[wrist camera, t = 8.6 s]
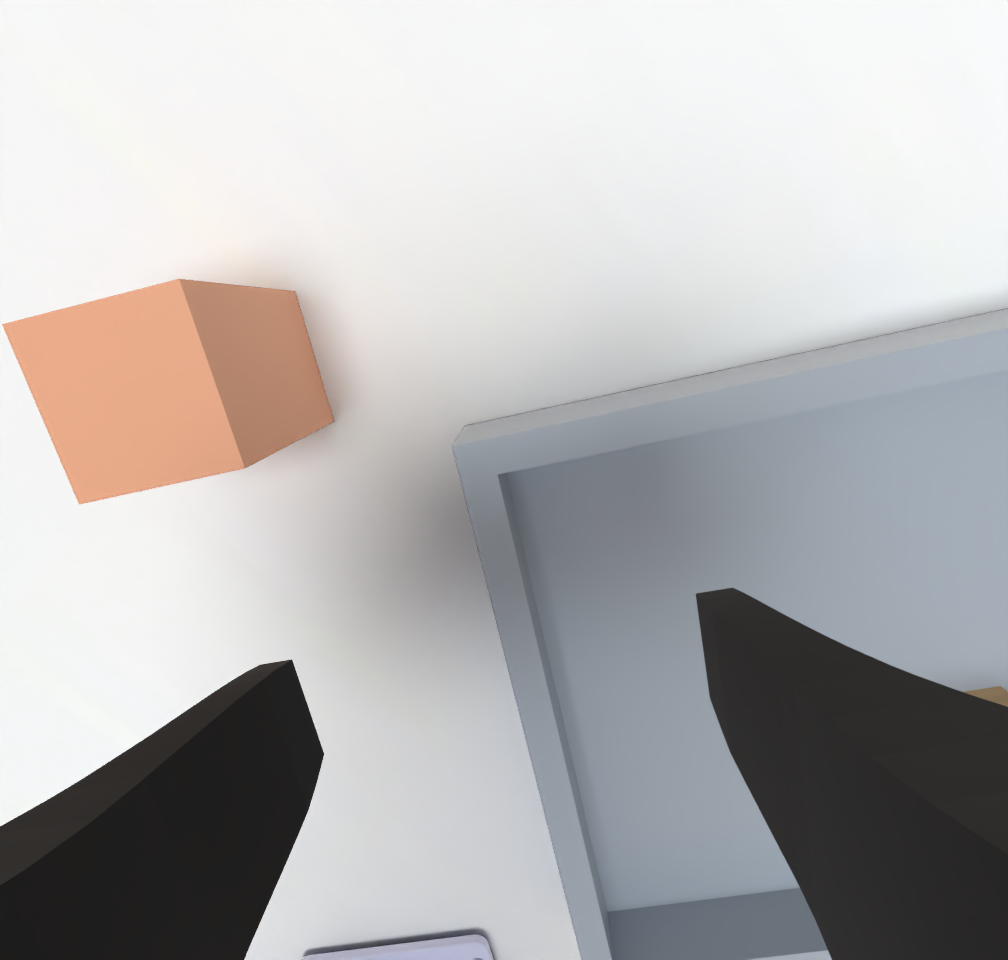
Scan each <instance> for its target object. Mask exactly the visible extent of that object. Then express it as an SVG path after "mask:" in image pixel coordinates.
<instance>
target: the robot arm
mask: <svg viewBox="0 0 1008 960" xmlns="http://www.w3.org/2000/svg"><path fill="white" fill-rule="evenodd" d="M696 600H697V608H698V615H699V622H700V630H701V637H702V644H703V652H704V659H705V666H706V674H707V681H708V688H709V696H710V700H711V703H712V705H713V708H714V711H715V714H716V716H717V719H718V722H719V724H720V727H721V730H722V732H723V735H724V738H725V740H726V743H727V746H728V748H729V751H730V753H731V755H732V757H733V759H734V761H735V763H736V765H737V767H738V769H739V771H740V773H741V775H742V777H743V779H744V781H745V783H746V785H747V787H748V788H749V790H750V792H751V794H752V796H753V798H754V800H755V802H756V804H757V806H758V808H759V810H760V812H761V814H762V816H763V817H764V819H765V821H766V823H767V825H768V827H769V829H770V831H771V833H772V835H773V837H774V839H775V841H776V842H777V844H778V846H779V848H780V850H781V852H782V854H783V856H784V858H785V860H786V862H787V864H788V866H789V867H790V869H791V871H792V873H793V875H794V877H795V879H796V881H797V883H798V885H799V887H800V889H801V891H802V893H803V895H804V897H805V899H806V901H807V904H808V906H809V908H810V910H811V912H812V914H813V916H814V918H815V921H816V923H817V925H818V928H819V930H820V932H821V935H822V937H823V940H824V942H825V944H826V947H827V949H828V952H829V954H830V956H831V959H832V960H1008V707H1007V706H1004V705H1001V704H998V703H995V702H991V701H988V700H985V699H982V698H979V697H976V696H973V695H970V694H967V693H964V692H961V691H958V690H956V689H953V688H950V687H947V686H944V685H942V684H939V683H936V682H933V681H931V680H928V679H925V678H922V677H919V676H917V675H914V674H911V673H909V672H906V671H904V670H901V669H899V668H896V667H894V666H891V665H889V664H887V663H884V662H882V661H880V660H878V659H875V658H873V657H871V656H868V655H866V654H864V653H862V652H859V651H857V650H855V649H853V648H850V647H848V646H846V645H844V644H842V643H840V642H838V641H835V640H833V639H831V638H829V637H827V636H825V635H823V634H821V633H819V632H817V631H815V630H813V629H811V628H809V627H807V626H805V625H803V624H801V623H799V622H798V621H796V620H794V619H792V618H790V617H788V616H786V615H784V614H782V613H781V612H779V611H777V610H775V609H773V608H771V607H769V606H768V605H766V604H764V603H762V602H760V601H758V600H756V599H755V598H753V597H751V596H749V595H747V594H745V593H743V592H741V591H739V590H737V589H735V588H727V589H721V590H714V591H708V592H702V593H696ZM323 756H324V753H323V750H322V747H321V744H320V741H319V738H318V735H317V732H316V729H315V726H314V723H313V720H312V717H311V714H310V711H309V708H308V705H307V702H306V700H305V697H304V694H303V691H302V688H301V685H300V682H299V679H298V676H297V673H296V670H295V667H294V664H293V661H292V660H287V661H281V662H275V663H268V664H262V665H259V666H257V667H255V668H253V669H251V670H249V671H247V672H246V673H244V674H242V675H241V676H239V677H237V678H236V679H234V680H232V681H231V682H229V683H228V684H226V685H224V686H223V687H221V688H220V689H218V690H217V691H215V692H214V693H212V694H211V695H209V696H208V697H206V698H205V699H203V700H202V701H200V702H199V703H197V704H196V705H194V706H193V707H191V708H190V709H189V710H187V711H186V712H184V713H183V714H181V715H180V716H178V717H177V718H175V719H174V720H172V721H171V722H169V723H168V724H166V725H165V726H163V727H162V728H161V729H159V730H158V731H156V732H155V733H153V734H152V735H150V736H149V737H147V738H146V739H144V740H142V741H141V742H139V743H138V744H136V745H135V746H133V747H132V748H130V749H129V750H127V751H125V752H124V753H122V754H121V755H119V756H118V757H116V758H115V759H113V760H111V761H110V762H108V763H107V764H105V765H104V766H102V767H101V768H99V769H97V770H96V771H94V772H93V773H91V774H90V775H88V776H87V777H85V778H83V779H82V780H80V781H79V782H77V783H75V784H74V785H72V786H70V787H69V788H67V789H65V790H64V791H62V792H60V793H59V794H57V795H55V796H54V797H52V798H50V799H48V800H47V801H45V802H43V803H41V804H40V805H38V806H36V807H34V808H33V809H31V810H29V811H27V812H25V813H24V814H22V815H20V816H18V817H17V818H15V819H13V820H11V821H9V822H8V823H6V824H4V825H2V826H0V960H244V959H245V956H246V953H247V951H248V948H249V946H250V944H251V942H252V939H253V937H254V935H255V933H256V930H257V928H258V926H259V923H260V921H261V919H262V917H263V914H264V912H265V910H266V907H267V905H268V903H269V901H270V898H271V896H272V894H273V891H274V889H275V887H276V885H277V882H278V880H279V878H280V875H281V873H282V871H283V869H284V866H285V864H286V862H287V859H288V857H289V855H290V853H291V850H292V848H293V845H294V843H295V841H296V838H297V836H298V834H299V831H300V829H301V827H302V824H303V822H304V819H305V817H306V815H307V812H308V810H309V806H310V803H311V800H312V796H313V793H314V790H315V787H316V783H317V779H318V775H319V772H320V768H321V764H322V760H323ZM301 960H493V956H492V953H491V950H490V946H489V943H488V941H487V940H486V939H485V938H484V937H483V936H481V935H466V936H458V937H450V938H442V939H434V940H426V941H418V942H410V943H402V944H394V945H386V946H378V947H370V948H362V949H354V950H346V951H338V952H330V953H322V954H314V955H308V956H305V957H303V958H302V959H301Z"/></svg>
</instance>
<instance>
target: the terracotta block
mask: <svg viewBox="0 0 1008 960" xmlns="http://www.w3.org/2000/svg"><path fill="white" fill-rule="evenodd" d="M2 325H3V328H4V330H5V332H6V335H7V337H8V339H9V342H10V344H11V346H12V349H13V351H14V353H15V356H16V358H17V360H18V363H19V365H20V367H21V370H22V372H23V374H24V377H25V379H26V381H27V384H28V386H29V388H30V391H31V393H32V395H33V398H34V400H35V402H36V405H37V407H38V409H39V412H40V414H41V416H42V419H43V421H44V423H45V426H46V428H47V430H48V433H49V435H50V437H51V440H52V442H53V444H54V447H55V449H56V451H57V454H58V456H59V458H60V461H61V463H62V465H63V468H64V470H65V472H66V475H67V477H68V479H69V482H70V484H71V486H72V489H73V491H74V493H75V496H76V498H77V500H78V503H79V504H83V503H88V502H93V501H97V500H102V499H106V498H111V497H116V496H120V495H125V494H129V493H134V492H138V491H143V490H148V489H152V488H157V487H161V486H166V485H170V484H175V483H180V482H184V481H189V480H193V479H198V478H203V477H207V476H212V475H216V474H221V473H225V472H230V471H235V470H239V469H244V468H246V467H248V466H250V465H252V464H254V463H256V462H258V461H260V460H262V459H264V458H265V457H267V456H269V455H271V454H273V453H275V452H277V451H279V450H281V449H283V448H285V447H287V446H288V445H290V444H292V443H294V442H296V441H298V440H300V439H302V438H304V437H306V436H308V435H309V434H311V433H313V432H315V431H317V430H319V429H321V428H323V427H325V426H327V425H329V424H330V423H332V422H334V419H333V415H332V412H331V409H330V405H329V402H328V399H327V395H326V392H325V389H324V386H323V382H322V379H321V376H320V372H319V369H318V366H317V362H316V359H315V356H314V352H313V349H312V346H311V342H310V339H309V336H308V333H307V329H306V326H305V323H304V319H303V316H302V313H301V309H300V306H299V303H298V299H297V296H296V293H295V291H286V290H277V289H268V288H258V287H249V286H240V285H231V284H222V283H212V282H203V281H194V280H185V279H177V280H173V281H169V282H165V283H161V284H157V285H154V286H150V287H146V288H142V289H138V290H134V291H130V292H126V293H122V294H119V295H115V296H111V297H107V298H103V299H99V300H95V301H91V302H87V303H84V304H80V305H76V306H72V307H68V308H64V309H60V310H56V311H52V312H49V313H45V314H41V315H37V316H33V317H29V318H25V319H21V320H18V321H14V322H10V323H6V324H2Z"/></svg>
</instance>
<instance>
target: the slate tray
mask: <svg viewBox="0 0 1008 960" xmlns="http://www.w3.org/2000/svg"><path fill="white" fill-rule="evenodd" d="M452 449H453V453H454V456H455V460H456V464H457V468H458V472H459V476H460V480H461V484H462V488H463V492H464V496H465V500H466V504H467V508H468V512H469V516H470V520H471V524H472V528H473V532H474V536H475V540H476V544H477V548H478V552H479V555H480V559H481V563H482V567H483V571H484V575H485V579H486V583H487V587H488V591H489V595H490V599H491V603H492V607H493V611H494V615H495V619H496V623H497V627H498V631H499V635H500V639H501V643H502V647H503V651H504V654H505V658H506V662H507V666H508V670H509V674H510V678H511V682H512V686H513V690H514V694H515V698H516V702H517V706H518V710H519V714H520V718H521V722H522V726H523V730H524V734H525V738H526V742H527V746H528V750H529V753H530V757H531V761H532V765H533V769H534V773H535V777H536V781H537V785H538V789H539V793H540V797H541V801H542V805H543V809H544V813H545V817H546V821H547V825H548V829H549V833H550V837H551V841H552V845H553V849H554V852H555V856H556V860H557V864H558V868H559V872H560V876H561V880H562V884H563V888H564V892H565V896H566V900H567V904H568V908H569V912H570V916H571V920H572V924H573V928H574V932H575V936H576V940H577V944H578V947H579V951H580V955H581V959H582V960H832V959H831V956H830V954H829V952H828V949H827V947H826V944H825V942H824V940H823V937H822V935H821V932H820V930H819V928H818V925H817V923H816V921H815V918H814V916H813V914H812V912H811V910H810V908H809V906H808V904H807V901H806V899H805V897H804V895H803V893H802V891H801V889H800V887H799V885H798V883H797V881H796V879H795V877H794V875H793V873H792V871H791V869H790V867H789V866H788V864H787V862H786V860H785V858H784V856H783V854H782V852H781V850H780V848H779V846H778V844H777V842H776V841H775V839H774V837H773V835H772V833H771V831H770V829H769V827H768V825H767V823H766V821H765V819H764V817H763V816H762V814H761V812H760V810H759V808H758V806H757V804H756V802H755V800H754V798H753V796H752V794H751V792H750V790H749V788H748V787H747V785H746V783H745V781H744V779H743V777H742V775H741V773H740V771H739V769H738V767H737V765H736V763H735V761H734V759H733V757H732V755H731V753H730V751H729V748H728V746H727V743H726V740H725V738H724V735H723V732H722V730H721V727H720V724H719V722H718V719H717V716H716V714H715V711H714V708H713V705H712V703H711V700H710V696H709V688H708V681H707V674H706V666H705V659H704V652H703V644H702V637H701V630H700V622H699V615H698V608H697V600H696V593H702V592H708V591H714V590H721V589H727V588H735V589H737V590H739V591H741V592H743V593H745V594H747V595H749V596H751V597H753V598H755V599H756V600H758V601H760V602H762V603H764V604H766V605H768V606H769V607H771V608H773V609H775V610H777V611H779V612H781V613H782V614H784V615H786V616H788V617H790V618H792V619H794V620H796V621H798V622H799V623H801V624H803V625H805V626H807V627H809V628H811V629H813V630H815V631H817V632H819V633H821V634H823V635H825V636H827V637H829V638H831V639H833V640H835V641H838V642H840V643H842V644H844V645H846V646H848V647H850V648H853V649H855V650H857V651H859V652H862V653H864V654H866V655H868V656H871V657H873V658H875V659H878V660H880V661H882V662H884V663H887V664H889V665H891V666H894V667H896V668H899V669H901V670H904V671H906V672H909V673H911V674H914V675H917V676H919V677H922V678H925V679H928V680H931V681H933V682H936V683H939V684H942V685H944V686H947V687H950V688H953V689H956V690H958V691H961V692H965V691H972V690H978V689H984V688H990V687H997V686H1001V687H1002V688H1004V689H1005V690H1006V691H1007V692H1008V308H1007V309H1003V310H998V311H994V312H989V313H984V314H980V315H975V316H970V317H966V318H961V319H957V320H952V321H947V322H943V323H938V324H933V325H929V326H924V327H920V328H915V329H910V330H906V331H901V332H897V333H892V334H887V335H883V336H878V337H873V338H869V339H864V340H860V341H855V342H850V343H846V344H841V345H836V346H832V347H827V348H823V349H818V350H813V351H809V352H804V353H799V354H795V355H790V356H786V357H781V358H776V359H772V360H767V361H762V362H758V363H753V364H749V365H744V366H739V367H735V368H730V369H725V370H721V371H716V372H712V373H707V374H702V375H698V376H693V377H689V378H684V379H679V380H675V381H670V382H665V383H661V384H656V385H652V386H647V387H642V388H638V389H633V390H628V391H624V392H619V393H615V394H610V395H605V396H601V397H596V398H591V399H587V400H582V401H578V402H573V403H568V404H564V405H559V406H554V407H550V408H545V409H541V410H536V411H531V412H527V413H522V414H517V415H513V416H508V417H504V418H499V419H494V420H490V421H485V422H480V423H476V424H471V425H467V426H464V428H463V429H462V431H461V433H460V434H459V436H458V437H457V439H456V441H455V442H454V444H453V445H452Z"/></svg>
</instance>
